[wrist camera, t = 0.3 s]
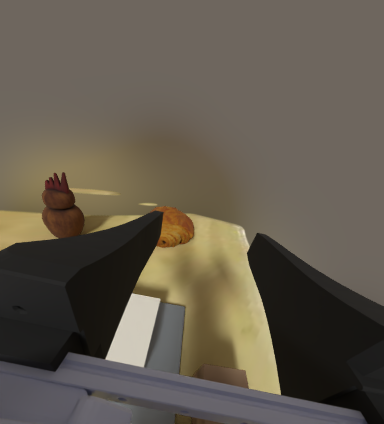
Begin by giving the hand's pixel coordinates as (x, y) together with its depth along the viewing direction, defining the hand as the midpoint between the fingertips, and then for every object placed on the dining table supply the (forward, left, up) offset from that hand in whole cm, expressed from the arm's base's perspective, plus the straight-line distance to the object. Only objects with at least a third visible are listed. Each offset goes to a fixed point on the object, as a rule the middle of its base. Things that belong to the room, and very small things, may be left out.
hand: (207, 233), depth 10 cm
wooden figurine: (+15, +27, -21) cm, 37 cm away
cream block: (-1, +6, -20) cm, 21 cm away
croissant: (+24, +5, -21) cm, 32 cm away
